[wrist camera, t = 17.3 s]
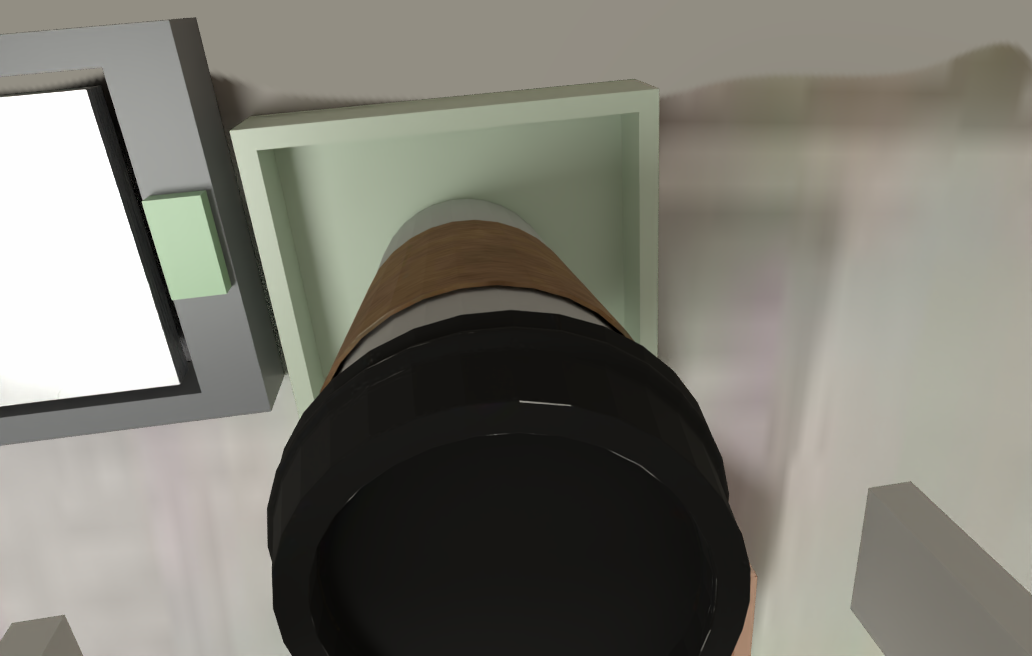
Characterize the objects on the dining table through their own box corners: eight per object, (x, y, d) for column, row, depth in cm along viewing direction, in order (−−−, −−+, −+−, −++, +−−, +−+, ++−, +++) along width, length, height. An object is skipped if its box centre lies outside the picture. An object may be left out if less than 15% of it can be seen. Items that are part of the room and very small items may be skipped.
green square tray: (325, 443, 28) (316, 486, 25) (250, 116, 22) (229, 130, 20) (636, 402, 28) (657, 440, 26) (634, 78, 23) (659, 88, 21)
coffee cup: (495, 425, 27) (568, 843, 14) (294, 314, 25) (138, 702, 11) (634, 250, 25) (885, 545, 12) (430, 105, 22) (444, 270, 9)
